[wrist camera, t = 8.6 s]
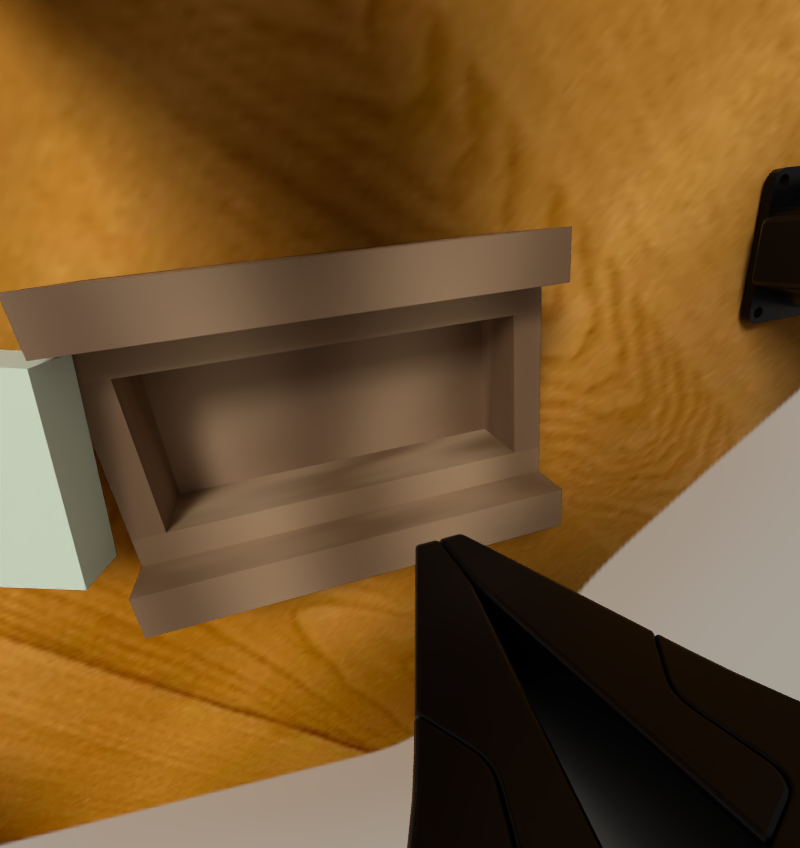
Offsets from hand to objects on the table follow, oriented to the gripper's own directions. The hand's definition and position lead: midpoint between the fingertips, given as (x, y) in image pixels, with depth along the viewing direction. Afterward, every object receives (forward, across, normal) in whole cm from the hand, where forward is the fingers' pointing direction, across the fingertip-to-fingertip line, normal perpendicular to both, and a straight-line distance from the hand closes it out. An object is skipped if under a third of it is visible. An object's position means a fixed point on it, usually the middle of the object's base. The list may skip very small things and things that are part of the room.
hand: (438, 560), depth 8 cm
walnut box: (+11, 0, 0) cm, 11 cm away
